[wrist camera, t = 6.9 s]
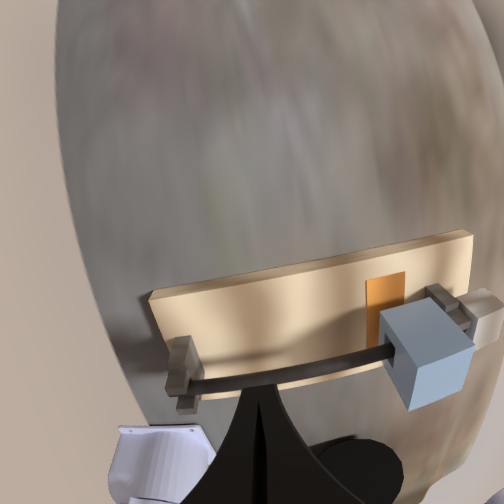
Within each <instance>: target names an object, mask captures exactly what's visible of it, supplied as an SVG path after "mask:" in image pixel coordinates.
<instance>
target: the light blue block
mask: <svg viewBox="0 0 504 504" xmlns="http://www.w3.org/2000/svg"><path fill="white" fill-rule="evenodd" d="M390 342H392V344H393V345H394V347H395V357H392V358H388V359H385V360H382V363H383V365H384V366H385V368H386V370H387V372H388V374H389V376H390V378H391V379H392V381H393V383H394V385H395V387H396V389H397V391H398V393H399V395H400V397H401V399H402V400H403V402H404V404H405V406H406V408H407V410H408V411H411V410H414V409H416V408H419V407H422V406H424V405H427V404H429V403H432V402H434V401H437V400H439V399H442V398H444V397H446V396H449V395H451V394H453V393H455V392H458V391H460V390H461V389H462V386H463V383H464V381H465V378H466V375H467V372H468V369H469V365H470V362H471V359H472V356H473V352H474V349H475V344H474V343H473V342H472V341H471V339H470V338H469V337H468V336H467V335H466V334H465V333H464V332H463V331H462V330H461V329H460V328H459V326H458V325H457V324H456V323H455V322H454V321H453V320H452V319H451V318H450V317H449V316H448V315H447V314H446V313H445V312H444V311H443V310H442V309H441V308H440V307H439V306H438V305H437V304H436V303H435V302H434V301H433V300H432V299H431V298H430V297H429V298H425V299H422V300H419V301H415V302H412V303H408V304H405V305H401V306H397V307H394V308H390V309H386V310H382V311H380V320H379V343H378V346H379V345H383V344H386V343H390Z"/></svg>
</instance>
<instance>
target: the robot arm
mask: <svg viewBox="0 0 504 504" xmlns="http://www.w3.org/2000/svg"><path fill="white" fill-rule="evenodd" d="M118 430H119V432H120V433H121V435H120V438H119V441H118V444H117V448H116V451H115V454H114V458H113V461H112V464H111V467H110V471H109V475H108V487H109V492H110V495H111V497H112V498H113V500H114V501H115V503H116V504H365V503H364V502H363V501H362V500H360V499H359V498H358V497H357V496H355V495H354V494H353V493H352V492H350V491H349V490H348V489H347V488H346V487H345V486H343V485H342V484H341V483H340V482H339V481H338V480H337V479H336V478H335V477H334V476H333V475H332V474H331V473H330V472H329V471H328V470H327V469H326V468H325V467H324V466H323V465H322V464H321V462H320V461H319V460H318V459H317V458H316V457H315V455H314V454H313V453H312V451H311V450H310V449H309V448H308V446H307V445H306V443H305V442H304V441H303V439H302V438H301V436H300V435H299V433H298V432H297V430H296V428H295V427H294V425H293V423H292V421H291V420H290V418H289V416H288V414H287V412H286V410H285V408H284V406H283V403H282V401H281V398H280V395H279V391H278V386H277V385H276V384H274V383H273V384H267V385H261V386H254V387H247V388H243V389H242V390H241V394H240V398H239V402H238V405H237V409H236V411H235V414H234V417H233V420H232V422H231V425H230V427H229V430H228V432H227V434H226V436H225V438H224V441H223V443H222V445H221V447H220V449H219V451H218V452H217V454H216V453H215V451H214V449H213V448H212V446H211V444H210V442H209V441H208V439H207V437H206V435H205V433H204V432H203V430H202V428H201V427H200V426H199V425H180V426H119V427H118ZM208 465H210V466H209V467H208ZM485 504H504V488H503V489H502V490H500V491H499V492H497V493H496V494H495V495H493V496H492V497H491V498H490V499H489V500H488V501H487V502H486V503H485Z"/></svg>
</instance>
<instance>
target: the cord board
mask: <svg viewBox="0 0 504 504" xmlns="http://www.w3.org/2000/svg"><path fill="white" fill-rule="evenodd" d="M472 248H473V235H472V234H471V233H469V232H467V231H465V230H463V229H461V230H456V231H452V232H447V233H443V234H438V235H434V236H429V237H425V238H420V239H415V240H411V241H406V242H401V243H397V244H392V245H387V246H383V247H378V248H373V249H368V250H363V251H359V252H354V253H349V254H344V255H339V256H334V257H329V258H324V259H319V260H314V261H309V262H304V263H299V264H294V265H289V266H283V267H278V268H273V269H268V270H263V271H257V272H252V273H247V274H241V275H236V276H230V277H225V278H220V279H214V280H208V281H203V282H197V283H192V284H186V285H180V286H175V287H169V288H163V289H157V290H154V291H153V293H152V295H151V296H150V298H149V300H148V301H149V304H150V306H151V309H152V311H153V314H154V316H155V319H156V322H157V324H158V326H159V329H160V331H161V334H162V336H163V339H164V341H165V343H166V346H167V348H168V350H169V353H170V356H169V359H168V362H167V366H168V368H169V374H168V378H167V382H166V385H165V390H166V392H167V394H168V396H169V397H178V402H177V406H176V411H177V412H178V414H179V415H189V414H197V407H198V400H209V399H218V398H227V397H236V396H240V394H241V390H242V389H243V388H247V387H254V386H261V385H267V384H273V383H274V384H276V385H277V386H278V390H282V389H287V388H293V387H298V386H303V385H308V384H313V383H317V382H322V381H326V380H331V379H335V378H339V377H343V376H347V375H351V374H355V373H359V372H363V371H366V370H370V369H374V368H377V367H381V366H384V365H383V363H382V360H385V359H388V358H392V357H395V347H394V345H393V344H392V342H390V343H386V344H383V345H379V346H378V343H379V320H380V311H382V310H386V309H390V308H394V307H397V306H401V305H405V304H408V303H412V302H415V301H419V300H422V299H425V298H429V297H430V298H431V299H432V300H433V301H434V302H435V303H436V304H437V305H438V306H439V307H440V308H441V309H442V310H443V311H444V312H445V313H446V314H447V315H448V316H449V317H450V318H451V319H452V320H453V321H454V322H455V323H456V324H457V325H458V326H459V328H460V329H461V330H462V331H463V332H464V333H465V334H466V335H467V336H468V337H469V338H470V339H471V341H472V342H473V343H474V344H475V349H474V351H476V350H478V349H480V348H482V347H484V346H486V345H489V344H491V343H493V342H495V341H497V340H498V337H499V334H500V331H501V327H502V323H503V320H504V303H503V302H501V301H500V300H499V299H498V298H497V297H495V296H494V295H493V294H492V293H490V292H489V291H488V290H487V289H485V288H484V287H483V288H480V289H477V290H475V291H472V292H469V293H467V291H468V284H469V277H470V268H471V259H472Z"/></svg>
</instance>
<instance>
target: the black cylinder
mask: <svg viewBox="0 0 504 504" xmlns="http://www.w3.org/2000/svg"><path fill="white" fill-rule="evenodd" d="M317 459H318V460H319V461H320V462H321V464H322V465H323V466H324V467H325V468H326V469H327V470H328V471H329V472H330V473H331V474H332V475H333V476H334V477H335V478H336V479H337V480H338V481H339V482H340V483H341V484H342V485H343V486H345V487H346V488H347V489H348V490H349V491H350V492H352V493H353V494H354V495H355V496H357V497H358V498H359V499H360V500H362V501H363V502H364V503H365V504H392V503H393V502H394V500H395V499H396V497H397V495H398V494H399V492H400V490H401V486H402V483H403V479H404V475H403V468H402V462H401V461H400V459H399V458H398V456H397V455H396V454H395V452H394V451H393V449H391V448H389V447H388V446H386V445H385V444H383V443H380V442H377V441H374V440H371V439H352V440H348V441H345V442H342V443H339V444H335V445H333V446H332V447H330V448H329V449H327V450H326V451H324V452H323V453H322V454H321V455H320V456H319V457H318V458H317Z"/></svg>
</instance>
